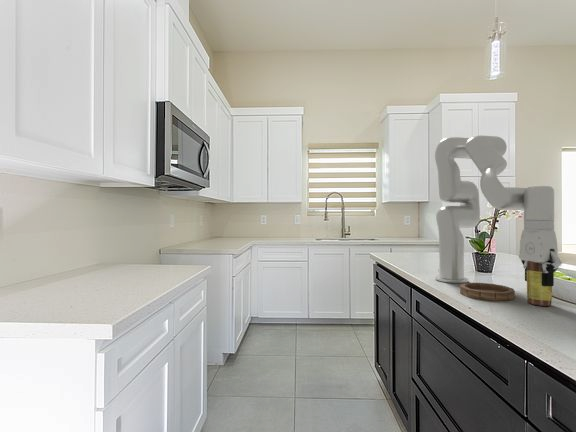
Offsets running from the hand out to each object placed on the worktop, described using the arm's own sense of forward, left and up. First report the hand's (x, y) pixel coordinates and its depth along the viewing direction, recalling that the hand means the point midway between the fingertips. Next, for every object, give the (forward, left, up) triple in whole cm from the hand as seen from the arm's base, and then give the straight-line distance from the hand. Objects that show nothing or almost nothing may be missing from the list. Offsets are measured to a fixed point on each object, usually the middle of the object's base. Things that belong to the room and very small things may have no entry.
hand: (538, 283), depth 102 cm
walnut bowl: (-12, -9, -7) cm, 16 cm away
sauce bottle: (0, 0, -7) cm, 7 cm away
